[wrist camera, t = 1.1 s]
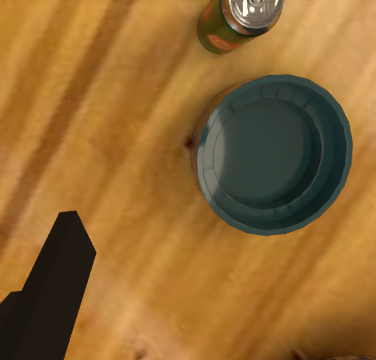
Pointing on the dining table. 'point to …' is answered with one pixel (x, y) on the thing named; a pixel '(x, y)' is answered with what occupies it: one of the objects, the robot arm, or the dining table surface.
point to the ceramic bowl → (353, 357)
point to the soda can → (236, 22)
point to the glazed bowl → (271, 153)
